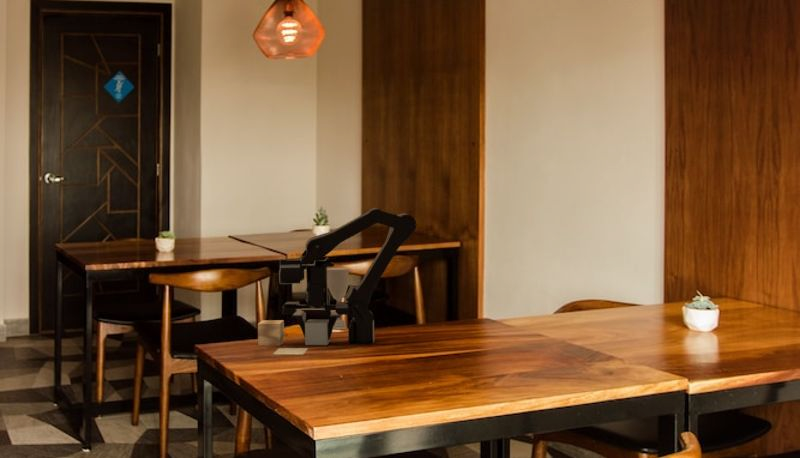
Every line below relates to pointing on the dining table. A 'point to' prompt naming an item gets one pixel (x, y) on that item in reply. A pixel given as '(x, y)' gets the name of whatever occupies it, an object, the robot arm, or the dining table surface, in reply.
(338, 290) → the chalice
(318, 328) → the slate block
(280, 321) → the birch block
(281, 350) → the mat
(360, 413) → the dining table surface
